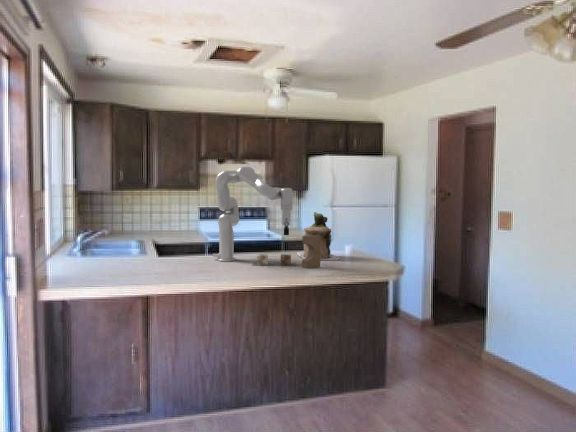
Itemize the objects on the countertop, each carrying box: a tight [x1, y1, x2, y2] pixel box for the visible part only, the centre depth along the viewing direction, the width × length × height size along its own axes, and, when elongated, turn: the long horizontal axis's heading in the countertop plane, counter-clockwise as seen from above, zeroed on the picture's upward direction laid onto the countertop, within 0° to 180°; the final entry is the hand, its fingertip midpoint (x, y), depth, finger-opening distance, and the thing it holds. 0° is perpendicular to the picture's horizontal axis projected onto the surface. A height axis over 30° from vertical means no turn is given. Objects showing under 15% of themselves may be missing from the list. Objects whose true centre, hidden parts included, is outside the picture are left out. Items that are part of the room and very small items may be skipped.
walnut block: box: [280, 254, 292, 267], centre depth 317 cm, size 6×6×6 cm
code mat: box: [251, 262, 297, 267], centre depth 318 cm, size 28×12×1 cm, turn 90°
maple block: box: [256, 253, 269, 265], centre depth 317 cm, size 6×6×6 cm
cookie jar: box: [296, 211, 340, 262], centre depth 344 cm, size 25×25×32 cm
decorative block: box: [301, 235, 321, 269], centre depth 310 cm, size 11×6×20 cm, turn 127°
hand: (286, 234), depth 316 cm, fingers open, 9 cm apart
